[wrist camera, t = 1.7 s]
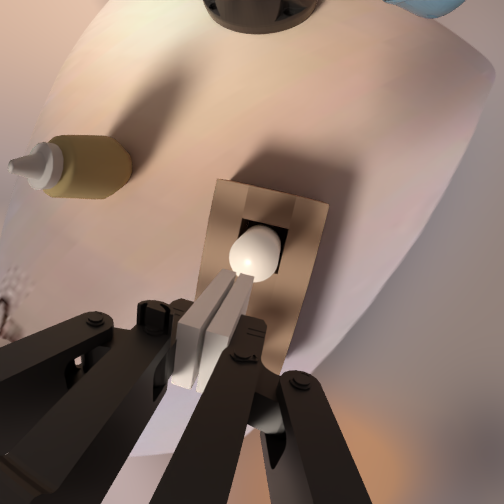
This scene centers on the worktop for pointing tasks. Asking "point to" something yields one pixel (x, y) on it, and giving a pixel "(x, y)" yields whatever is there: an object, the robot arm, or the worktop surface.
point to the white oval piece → (256, 253)
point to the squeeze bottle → (75, 167)
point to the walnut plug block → (289, 265)
